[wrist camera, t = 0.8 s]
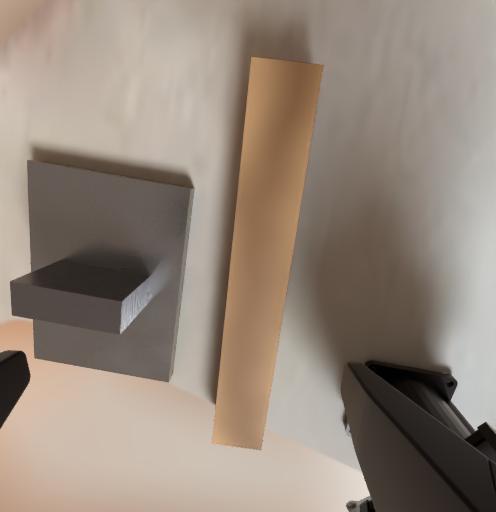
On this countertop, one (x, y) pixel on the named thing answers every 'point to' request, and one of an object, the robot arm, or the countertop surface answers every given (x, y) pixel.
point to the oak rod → (263, 241)
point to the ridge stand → (104, 269)
